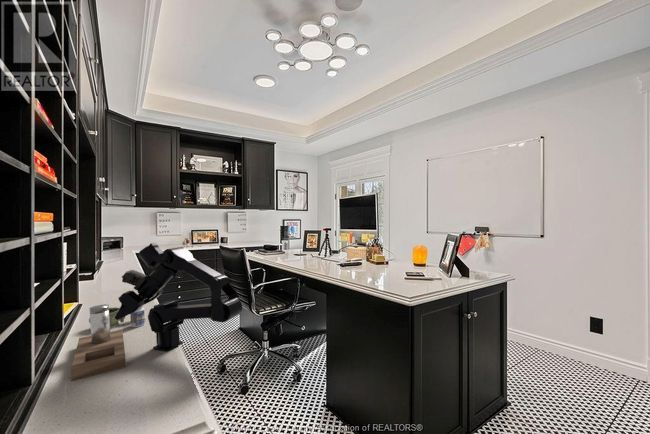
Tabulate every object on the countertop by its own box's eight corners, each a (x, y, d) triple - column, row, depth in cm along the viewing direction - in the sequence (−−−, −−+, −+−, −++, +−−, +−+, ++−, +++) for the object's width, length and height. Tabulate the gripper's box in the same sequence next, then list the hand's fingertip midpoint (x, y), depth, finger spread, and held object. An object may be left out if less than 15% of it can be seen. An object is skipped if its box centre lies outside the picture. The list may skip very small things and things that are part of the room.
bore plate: (125, 366, 89) (125, 356, 88) (71, 380, 82) (71, 369, 82) (122, 338, 110) (122, 329, 110) (79, 347, 103) (79, 338, 103)
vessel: (127, 320, 129) (126, 305, 129) (125, 326, 121) (124, 310, 121) (91, 325, 123) (90, 310, 123) (86, 333, 116) (86, 316, 116)
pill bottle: (138, 327, 120) (137, 306, 120) (127, 327, 121) (127, 305, 121) (147, 323, 124) (146, 302, 124) (137, 322, 125) (136, 302, 125)
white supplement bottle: (135, 322, 126) (134, 297, 126) (136, 318, 131) (135, 294, 131) (147, 320, 129) (147, 295, 128) (148, 316, 133) (147, 293, 133)
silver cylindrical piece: (111, 340, 100) (108, 306, 100) (91, 345, 97) (89, 310, 97) (110, 336, 104) (108, 303, 104) (91, 340, 101) (89, 306, 101)
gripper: (152, 257, 110) (120, 290, 109) (124, 266, 92) (85, 306, 90) (176, 278, 111) (144, 311, 110) (153, 291, 93) (115, 331, 91)
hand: (123, 314), depth 100 cm, fingers open, 9 cm apart
